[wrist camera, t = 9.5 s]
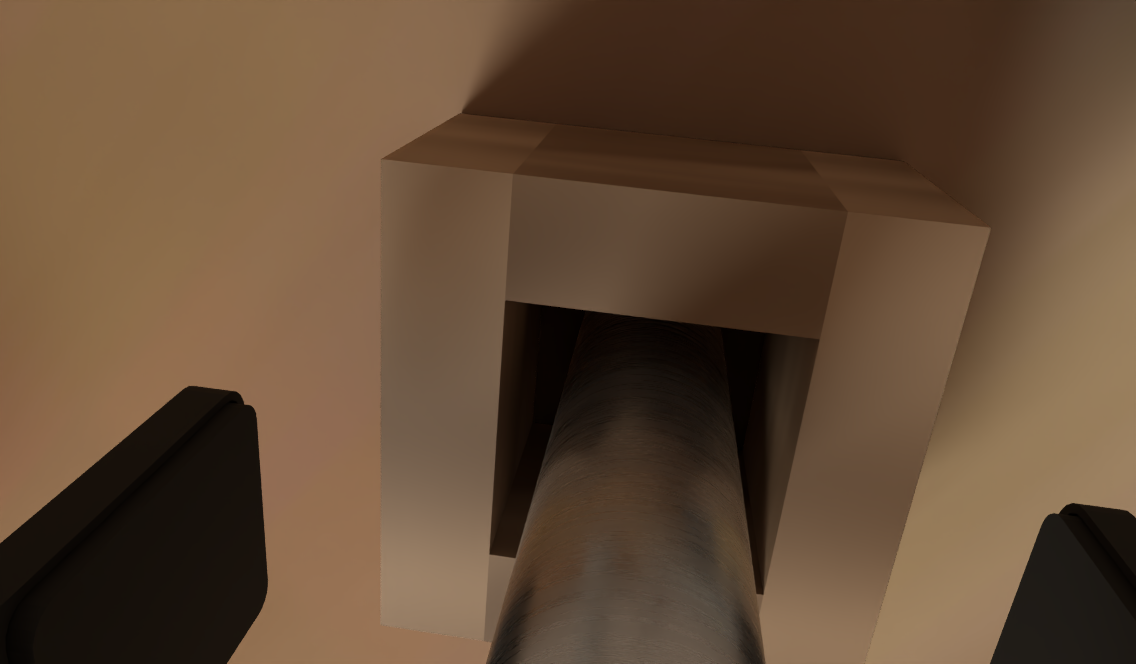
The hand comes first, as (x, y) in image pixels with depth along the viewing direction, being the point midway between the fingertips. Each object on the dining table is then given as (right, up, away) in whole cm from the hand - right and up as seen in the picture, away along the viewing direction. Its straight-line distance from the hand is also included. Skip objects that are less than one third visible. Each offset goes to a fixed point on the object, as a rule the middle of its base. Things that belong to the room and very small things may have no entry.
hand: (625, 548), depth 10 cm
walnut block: (+1, +2, +7) cm, 7 cm away
